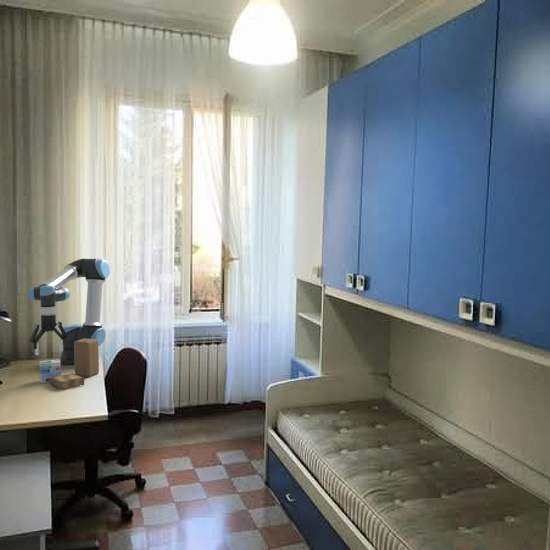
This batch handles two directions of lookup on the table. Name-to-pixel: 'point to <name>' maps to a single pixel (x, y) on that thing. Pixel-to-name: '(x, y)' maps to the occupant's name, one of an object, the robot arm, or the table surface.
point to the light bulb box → (49, 370)
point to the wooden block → (86, 357)
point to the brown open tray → (66, 381)
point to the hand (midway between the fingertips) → (49, 353)
